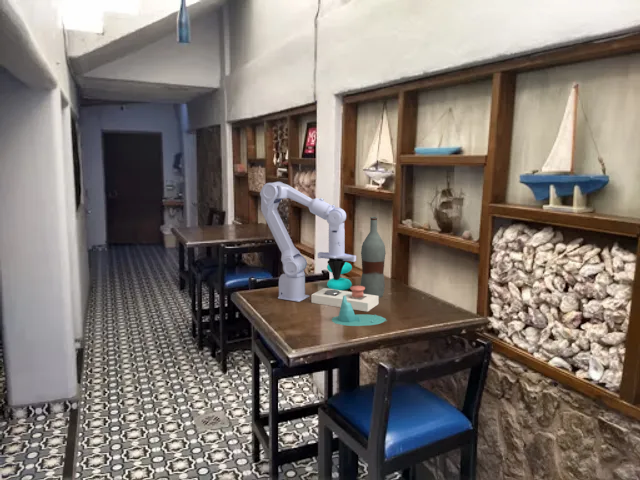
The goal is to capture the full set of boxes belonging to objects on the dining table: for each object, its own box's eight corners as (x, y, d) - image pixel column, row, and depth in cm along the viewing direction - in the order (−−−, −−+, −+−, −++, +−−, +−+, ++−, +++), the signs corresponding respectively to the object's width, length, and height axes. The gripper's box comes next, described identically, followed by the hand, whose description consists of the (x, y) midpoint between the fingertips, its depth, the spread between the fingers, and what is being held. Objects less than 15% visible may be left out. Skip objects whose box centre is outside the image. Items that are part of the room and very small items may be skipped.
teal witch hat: (393, 326, 151) (394, 300, 150) (330, 328, 150) (330, 301, 148) (385, 314, 163) (386, 289, 161) (326, 315, 162) (326, 290, 160)
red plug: (347, 296, 170) (347, 288, 169) (353, 293, 174) (354, 284, 174) (361, 298, 168) (361, 290, 167) (367, 295, 172) (367, 286, 171)
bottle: (380, 300, 178) (382, 219, 173) (357, 297, 181) (358, 218, 176) (387, 293, 186) (389, 216, 181) (364, 291, 190) (366, 215, 185)
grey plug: (322, 300, 175) (322, 292, 175) (329, 297, 180) (329, 289, 179) (335, 302, 173) (335, 294, 172) (341, 299, 177) (342, 290, 177)
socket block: (311, 302, 175) (311, 294, 174) (324, 295, 183) (324, 288, 183) (367, 311, 164) (367, 303, 164) (378, 303, 173) (378, 295, 173)
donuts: (353, 261, 197) (349, 266, 187) (353, 285, 198) (349, 291, 189) (329, 260, 199) (324, 265, 189) (329, 283, 201) (324, 290, 191)
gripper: (313, 242, 172) (313, 279, 174) (350, 245, 165) (350, 284, 167) (322, 239, 178) (322, 275, 180) (358, 242, 171) (358, 279, 173)
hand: (336, 279), depth 174 cm, fingers closed
